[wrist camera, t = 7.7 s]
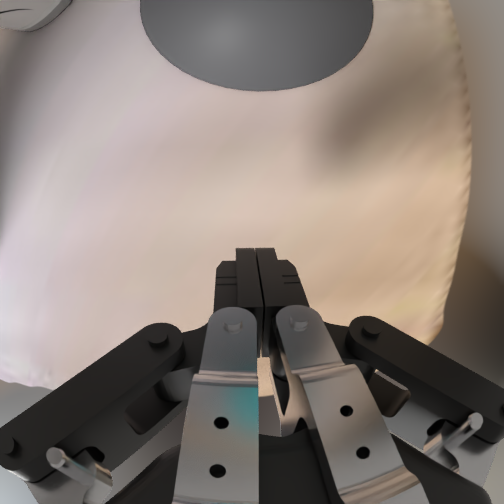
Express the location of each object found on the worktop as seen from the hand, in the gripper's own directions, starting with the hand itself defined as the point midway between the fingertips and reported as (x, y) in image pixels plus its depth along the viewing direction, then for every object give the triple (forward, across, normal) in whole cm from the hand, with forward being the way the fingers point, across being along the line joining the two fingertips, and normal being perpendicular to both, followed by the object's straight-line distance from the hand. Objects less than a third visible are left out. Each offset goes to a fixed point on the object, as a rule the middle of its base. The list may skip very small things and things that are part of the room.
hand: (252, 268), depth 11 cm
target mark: (+6, 0, -14) cm, 15 cm away
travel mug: (+6, +14, -17) cm, 23 cm away
